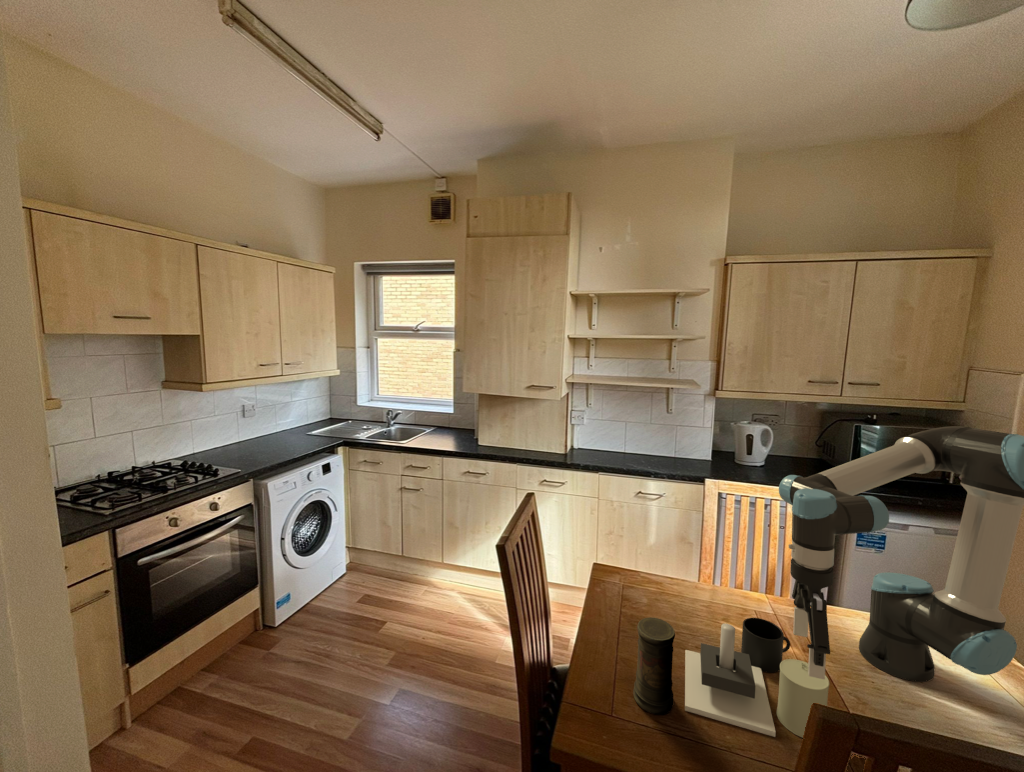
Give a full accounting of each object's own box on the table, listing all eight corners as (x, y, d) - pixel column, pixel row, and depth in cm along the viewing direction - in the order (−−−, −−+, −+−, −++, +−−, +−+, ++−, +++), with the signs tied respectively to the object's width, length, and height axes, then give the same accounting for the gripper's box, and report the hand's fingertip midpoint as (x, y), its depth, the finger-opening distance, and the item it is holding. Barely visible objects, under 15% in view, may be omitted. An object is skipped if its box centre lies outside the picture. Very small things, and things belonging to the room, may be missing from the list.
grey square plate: (748, 665, 108) (749, 654, 108) (754, 698, 98) (755, 686, 98) (700, 653, 112) (700, 642, 112) (701, 684, 102) (702, 672, 102)
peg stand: (760, 672, 111) (764, 612, 110) (775, 737, 93) (779, 666, 91) (685, 653, 118) (687, 597, 116) (684, 710, 99) (687, 644, 98)
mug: (799, 674, 111) (802, 641, 110) (752, 673, 111) (753, 639, 110) (778, 649, 120) (780, 618, 119) (734, 647, 120) (736, 616, 120)
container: (629, 684, 107) (631, 615, 106) (666, 685, 107) (668, 616, 105) (639, 715, 98) (641, 640, 97) (679, 716, 98) (682, 641, 96)
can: (824, 716, 98) (828, 666, 97) (827, 748, 90) (831, 694, 89) (776, 698, 103) (779, 651, 102) (775, 727, 95) (779, 676, 94)
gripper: (779, 535, 106) (777, 617, 108) (805, 589, 83) (801, 692, 85) (816, 540, 103) (812, 623, 105) (853, 597, 80) (848, 703, 82)
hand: (807, 654), depth 95 cm, fingers open, 13 cm apart
